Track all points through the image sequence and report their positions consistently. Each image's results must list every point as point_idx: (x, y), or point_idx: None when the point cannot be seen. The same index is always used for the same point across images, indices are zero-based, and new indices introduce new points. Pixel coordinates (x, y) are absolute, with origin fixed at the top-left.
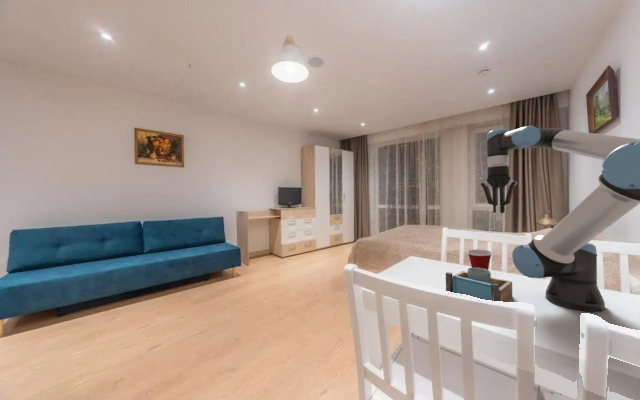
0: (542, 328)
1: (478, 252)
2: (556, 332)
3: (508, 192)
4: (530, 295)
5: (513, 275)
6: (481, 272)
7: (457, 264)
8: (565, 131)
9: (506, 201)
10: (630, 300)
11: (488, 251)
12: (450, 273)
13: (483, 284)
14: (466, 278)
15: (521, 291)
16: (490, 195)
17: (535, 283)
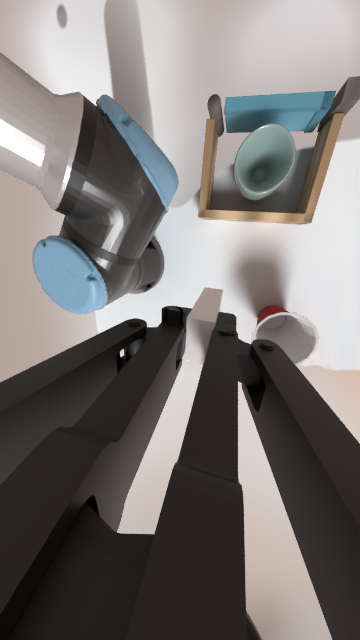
0: (145, 85)
1: None
2: (130, 88)
3: (48, 376)
4: (181, 250)
5: None
6: (258, 188)
7: (329, 368)
8: None
9: (130, 328)
10: (98, 316)
11: None
12: (347, 87)
13: (242, 97)
14: (291, 103)
15: (195, 262)
16: (270, 444)
17: None
